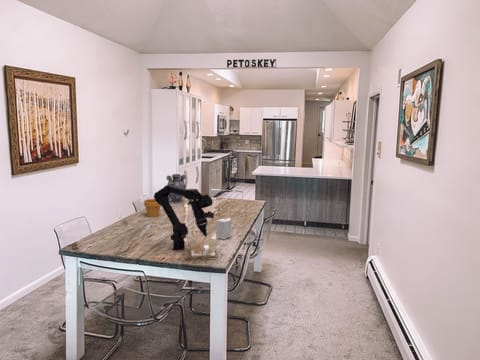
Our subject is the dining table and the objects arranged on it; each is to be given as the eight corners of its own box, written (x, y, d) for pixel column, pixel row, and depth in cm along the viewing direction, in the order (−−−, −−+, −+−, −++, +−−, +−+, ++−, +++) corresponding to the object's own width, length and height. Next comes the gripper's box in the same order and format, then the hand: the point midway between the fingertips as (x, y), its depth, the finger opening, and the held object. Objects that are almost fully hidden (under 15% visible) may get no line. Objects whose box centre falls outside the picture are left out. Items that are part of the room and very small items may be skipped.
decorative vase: (180, 199, 367) (180, 172, 363) (190, 202, 353) (190, 175, 349) (161, 201, 353) (162, 174, 349) (171, 205, 339) (171, 176, 335)
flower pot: (140, 216, 291) (140, 201, 289) (150, 213, 304) (150, 198, 302) (155, 218, 286) (155, 203, 285) (164, 215, 300) (164, 199, 298)
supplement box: (231, 238, 242) (231, 220, 240) (223, 240, 236) (223, 222, 234) (223, 235, 246) (223, 218, 245) (215, 237, 241) (216, 219, 239)
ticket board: (185, 260, 198) (185, 256, 198) (185, 252, 210) (185, 249, 209) (217, 259, 201) (217, 255, 200) (215, 252, 213) (215, 248, 212)
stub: (191, 256, 200) (191, 246, 199) (191, 251, 208) (191, 241, 208) (202, 256, 201) (202, 246, 200) (201, 250, 209) (201, 241, 209)
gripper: (212, 205, 198) (220, 231, 197) (209, 206, 217) (217, 231, 216) (192, 211, 196) (201, 238, 195) (192, 212, 215) (199, 236, 214)
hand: (205, 235), depth 205 cm, fingers open, 9 cm apart
